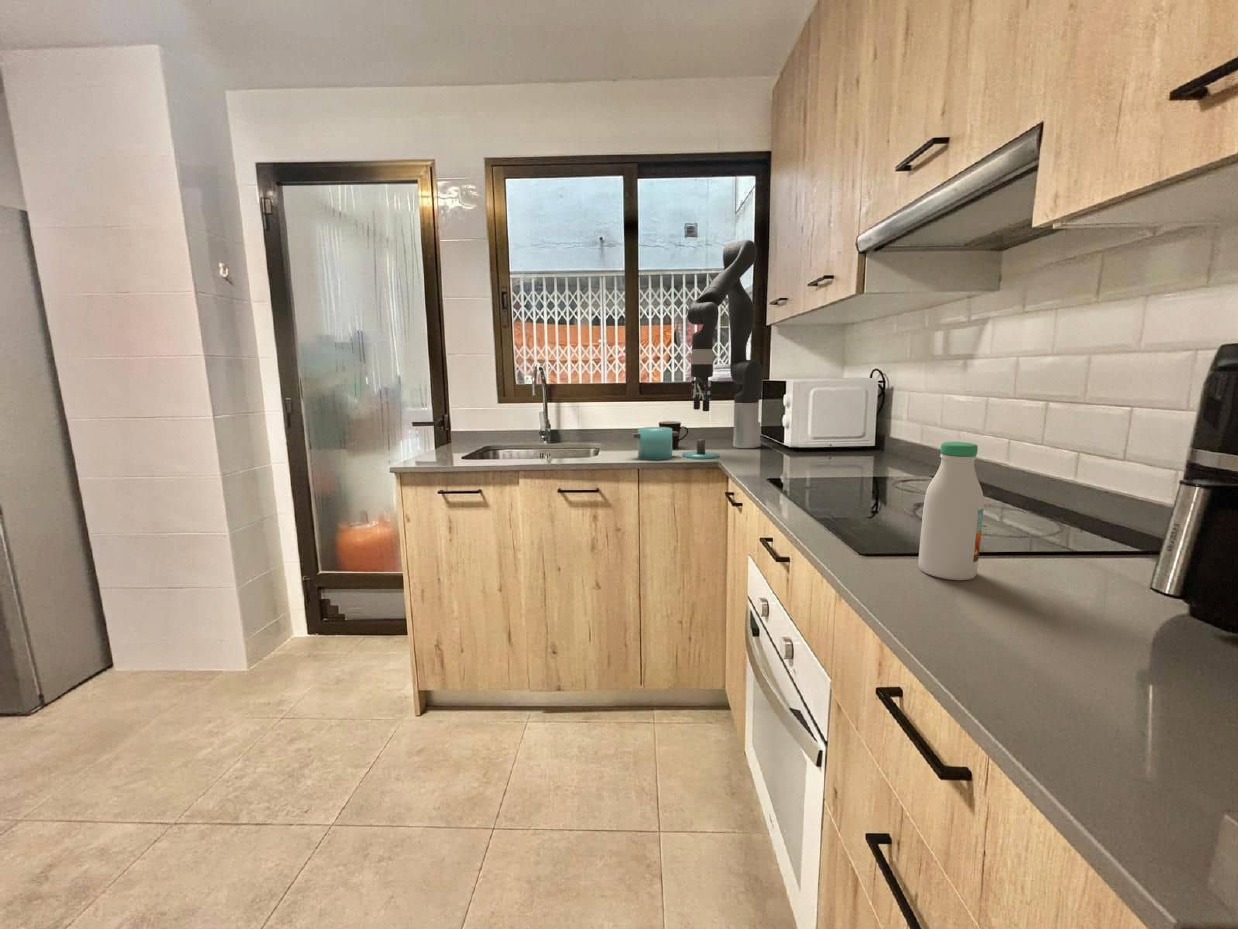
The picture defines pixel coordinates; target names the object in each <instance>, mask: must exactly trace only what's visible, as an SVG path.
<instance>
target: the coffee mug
mask: <svg viewBox="0 0 1238 929" xmlns="http://www.w3.org/2000/svg"><path fill="white" fill-rule="evenodd" d="M681 424H682V422H681V421H677V420H676V421H675V420H672V421H671V420H667V421H666V420H665V421H658V427H668V428H672V431H676V432H679V436H672V450H675V449H676V450H678V449H679V442H680V441H682V440H683V439H684V438H686V437H687V436H688V434H689V429H688V428H687V426H684V425H682V426H681ZM681 429H685V430H686V433H685V434H684V436H682V437H681V438H680V432H681Z"/></svg>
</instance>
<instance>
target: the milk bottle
mask: <svg viewBox="0 0 1238 929" xmlns="http://www.w3.org/2000/svg"><path fill="white" fill-rule="evenodd" d="M978 447H979V446H978V445H977V444H975V443H972V442H967V441H966V442H965V441H946V442H945V441H944V442H941V445H940V455H939V457H940V459H941V462H940V464H939V467H938V470H937V472H936V474H935V475H934V476H933V478H932V480H931V481H930V483H929V485H928V487H927V489H926V492H925V496H924V501H923V509H922V519H921V530H920V540H919V549H918V550H919V552H918V567H919V569H920V571H922V572H923V573H925V574H926V575H929V576H933V577H936V578H939V579H944V580H951V581H968V580H972V579H974V578H975V577H976V575H977V572H978V565H979V559H980V558H979V557H980V548H981V539H982V531H983V530H982V529H983V520H984V508H985V505H984V504H985V500H984V492H983V490H982V487H981V484H980V482H979V479H978V477H977V473H976V469H975V460H977V455H978Z"/></svg>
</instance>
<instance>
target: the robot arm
mask: <svg viewBox="0 0 1238 929" xmlns="http://www.w3.org/2000/svg"><path fill="white" fill-rule="evenodd" d="M757 257H758V249H757V246H756V244H755V242H754V241H753V240H751V239H743V240H740V241H735V242H731V243H728V244H726V245H725V246H724V248H723V250H722V262H723V269H724V270H723V271H722V272H720V273H719V274H718V275H717V276H715V277H714V278H713V279H712V280H711V281H710V283H709V285H708V286H707V288H706V289H705V291H704V292H703V293H702V294H701V295H699V296H698V297H697V298H696V299H695V300H693V302H692V303H691V304H690V306H689V307H688V309H687V313H686V314H687V315H686V316H687V321H688V322H689V323H690V324H691V325H694V326H695V325H696V326H697V325H698V326H699V325H700V326H701V325H702V327H701V329H700V330H699V331H696V332H694V333H693V334H692V335H691V355H690V377H691V378H694V379H692V380H691V381H690V382H691V385H690V397H691V398H692V399H693V410H697V411H699V410H700V409H701V397H702V412H710V401H711V399H713V395H714V394H713V393H714V391H713V390H714V389H713V388H714V385H713V384H714V383H713V382H714V381H713V380H709V378H712V377H713V376H714V352H713V350H714V349H713V345H714V334H715V331H716V326H717V324H718V320H719V317H720V316H719V308H718V307H719V306H721V304H722V303H723V302H724V301H725V299H726V297H727V303H728V321H729V322H728V323H729V332H730V336H729V337H730V338H729V339H730V363H729V364H730V365H729V366H730V368H729V371H730V377H731V380H732V382H734V383H735V384H736V385H743V386H742V390H741V391H740V392H738V393H736V394H735V395H734V400H733V401H734V402H733V404H734V405H733V440H732V442H733V444H732V446H733V448H738V449H756V448H760V447H761V446H760V444H761V422H760V421H759V414H760V413H759V412H760V411H759V408H760V397H761V394H762V390H763V389H762V386H763V377H764V375H763V374H764V372H763V366H762V364H761V362H760V361H758V360H756V359H747V346H748V342H749V340H750V337H751V336H752V332H753V330H754V327H755V323H756V322H755V319H756V318H755V307H754V302H753V300H752V298H751V297H750V295H749V294H748V292H747V291H746V290H745V288H744V287H743V284H742V281H741V278H742V277H743V275H744V274H745V273H746V272H747V271H748V270H749V269H750V268H751V267H752V266H753V265H754V264H755V262H756V260H757Z"/></svg>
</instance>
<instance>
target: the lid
mask: <svg viewBox="0 0 1238 929" xmlns="http://www.w3.org/2000/svg"><path fill="white" fill-rule="evenodd" d="M681 455H682V457H683V458H684V459H692V460H713V459H718V458H720V455H721V454H720V453H719V452H715V451H706V439H703V438H699V439H696V451H686V452H685V451H684V452H683V453H682V454H681Z"/></svg>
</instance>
